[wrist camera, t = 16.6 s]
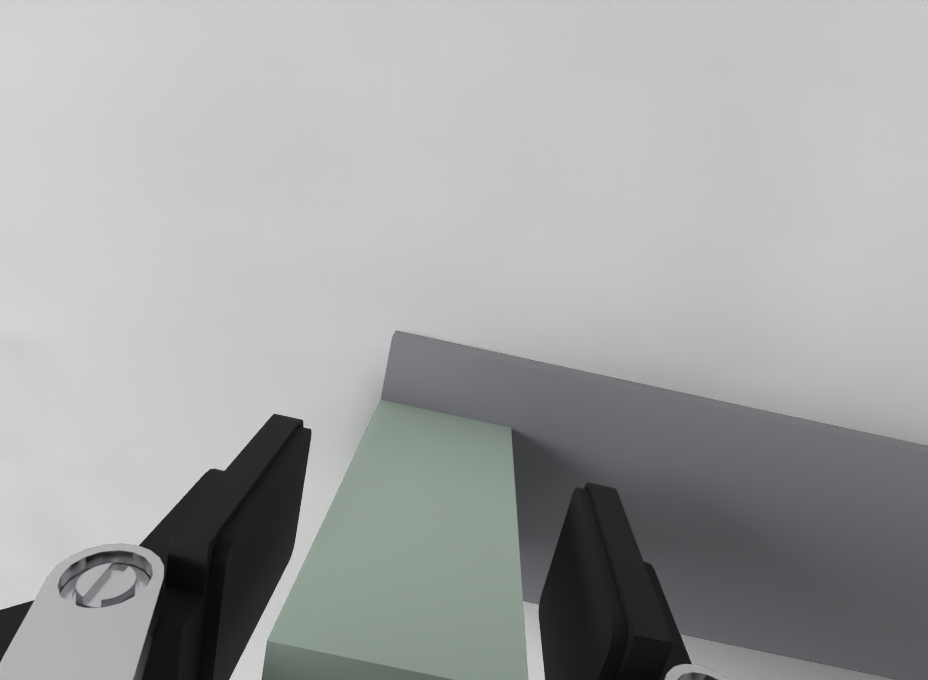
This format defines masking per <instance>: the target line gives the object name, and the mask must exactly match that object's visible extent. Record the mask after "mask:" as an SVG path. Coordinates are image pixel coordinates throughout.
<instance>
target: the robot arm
mask: <svg viewBox="0 0 928 680" xmlns="http://www.w3.org/2000/svg"><path fill="white" fill-rule="evenodd" d="M310 441H311V429H307V428H303V420H300V419H296V418H291V417H287V416H282V415H277V414H274V415H272V416H271V418H270V419H269V420H268V421H267V422H266V423H265V425H264V426H263V427H262V428H261V429H260V430H259V432H258V433H257V434H256V435H255V436H254V437H253V439H252V440H251V441H250V442H249V443H248V444H247V446H246V447H245V448H244V449H243V450H242V451H241V453H240V454H239V455H238V456H237V457H236V458H235V459H234V461H233V462H232V463H231V464H230V465H229V466H228V468H227V469H226V470H225V471H222V470H218V469H210V470H209V471H207V472H206V473H205V474H204V475H203V476H202V477H201V479H200V480H199V481H198V482H197V483H196V484H195V485H194V486H193V487H192V488H191V489H190V491H189V492H188V493H187V494H186V495H185V496H184V497H183V498H182V499H181V500H180V502H179V503H178V504H177V505H176V506H175V507H174V508H173V509H172V510H171V511H170V512H169V514H168V515H167V516H166V517H165V518H164V519H163V520H162V521H161V522H160V523H159V524H158V526H157V527H156V528H155V529H154V530H153V531H152V532H151V533H150V534H149V535H148V536H147V538H146V539H145V540H144V541H143V542H142V543H141V544H140V545H139V546H138V545H130V544H109V545H101V546H97V547H93V548H89V549H86V550H83V551H81V552H79V553H77V554H74V555H72V556H70V557H68V558H67V559H66V560H64V561H63V562H61V563H60V564H59V565H57V566H56V567H55V568H54V570H53V571H52V572H51V573H50V574H49V576H48V577H47V579H46V580H45V582H44V584H43V586H42V588H41V589H40V591H39V593H38V595H37V597H36V598H35V600H33V601H30V602H26V603H23V604H20V605H16V606H13V607H9V608H6V609H2V610H0V680H229V679H230V677H231V675H232V673H233V671H234V669H235V667H236V665H237V663H238V661H239V659H240V657H241V655H242V653H243V651H244V649H245V647H246V645H247V643H248V641H249V639H250V637H251V635H252V633H253V631H254V629H255V627H256V625H257V623H258V622H259V620H260V618H261V616H262V614H263V612H264V610H265V608H266V606H267V604H268V602H269V600H270V598H271V596H272V594H273V592H274V590H275V588H276V586H277V584H278V582H279V580H280V578H281V576H282V574H283V572H284V570H285V568H286V566H287V564H288V562H289V560H290V558H291V555H292V552H293V548H294V544H295V538H296V531H297V525H298V518H299V512H300V505H301V499H302V492H303V486H304V479H305V473H306V467H307V460H308V454H309V447H310ZM539 622H540V632H541V642H542V652H543V662H544V672H545V680H730V679H729V678H727V677H725V676H723V675H722V674H720V673H718V672H716V671H714V670H712V669H709V668H706V667H703V666H700V665H693V664H691V661H690V659H689V656H688V653H687V651H686V648H685V646H684V643H683V641H682V638H681V636H680V633H679V631H678V628H677V625H676V623H675V620H674V618H673V615H672V613H671V610H670V608H669V605H668V603H667V600H666V597H665V595H664V592H663V590H662V587H661V585H660V582H659V580H658V577H657V575H656V572H655V570H654V568H653V566H652V565H651V564H650V563H648V562H644V561H643V559H642V556H641V553H640V551H639V548H638V545H637V543H636V540H635V537H634V535H633V532H632V529H631V527H630V524H629V521H628V519H627V516H626V513H625V510H624V508H623V505H622V502H621V500H620V497H619V494H618V492H617V490H616V488H612V487H607V486H603V485H598V484H594V483H589V482H588V483H586V484H585V486H584V488H578V487H576V488H575V490H574V492H573V494H572V497H571V501H570V504H569V507H568V510H567V513H566V517H565V520H564V523H563V526H562V530H561V533H560V536H559V539H558V542H557V546H556V549H555V552H554V555H553V558H552V562H551V565H550V568H549V571H548V574H547V578H546V581H545V584H544V587H543V591H542V594H541V598H540V603H539Z"/></svg>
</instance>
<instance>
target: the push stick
mask: <svg viewBox="0 0 928 680" xmlns="http://www.w3.org/2000/svg"><path fill="white" fill-rule="evenodd" d="M588 482H589V483H594V484H598V485H603V486H607V487H612V488H616V490H617V492H618V494H619V497H620V500H621V502H622V505H623V508H624V510H625V513H626V516H627V519H628V521H629V524H630V527H631V529H632V532H633V535H634V537H635V540H636V543H637V545H638V548H639V551H640V553H641V556H642V559H643V561H644V562H648V563H650V564H651V565H652V566H653V568H654V570H655V572H656V575H657V577H658V580H659V582H660V585H661V587H662V590H663V592H664V595H665V597H666V600H667V603H668V605H669V608H670V610H671V613H672V615H673V618H674V620H675V623H676V625H677V628H678V631H679V633H680V634H683V635H687V636H692V637H697V638H702V639H706V640H711V641H716V642H721V643H725V644H730V645H735V646H740V647H744V648H749V649H754V650H759V651H763V652H768V653H773V654H778V655H783V656H787V657H792V658H797V659H802V660H806V661H811V662H816V663H821V664H825V665H830V666H835V667H840V668H844V669H849V670H854V671H859V672H863V673H868V674H873V675H878V676H882V677H887V678H892V679H897V680H928V446H925V445H921V444H916V443H911V442H907V441H902V440H897V439H893V438H888V437H884V436H879V435H874V434H870V433H865V432H861V431H856V430H851V429H847V428H842V427H838V426H833V425H828V424H824V423H819V422H815V421H810V420H805V419H801V418H796V417H792V416H787V415H782V414H778V413H773V412H768V411H764V410H759V409H755V408H750V407H745V406H741V405H736V404H732V403H727V402H722V401H718V400H713V399H709V398H704V397H699V396H695V395H690V394H686V393H681V392H676V391H672V390H667V389H662V388H658V387H653V386H649V385H644V384H639V383H635V382H630V381H626V380H621V379H616V378H612V377H607V376H603V375H598V374H593V373H589V372H584V371H580V370H575V369H570V368H566V367H561V366H557V365H552V364H547V363H543V362H538V361H533V360H529V359H524V358H520V357H515V356H510V355H506V354H501V353H497V352H492V351H487V350H483V349H478V348H474V347H469V346H464V345H460V344H455V343H451V342H446V341H441V340H437V339H432V338H428V337H423V336H418V335H414V334H409V333H404V332H400V331H395V333H394V335H393V337H392V341H391V347H390V352H389V357H388V363H387V368H386V374H385V379H384V385H383V390H382V395H381V400H380V402H379V404H378V406H377V409H376V411H375V413H374V415H373V417H372V419H371V421H370V423H369V426H368V428H367V430H366V432H365V434H364V436H363V438H362V440H361V443H360V445H359V447H358V449H357V451H356V453H355V455H354V457H353V460H352V462H351V464H350V466H349V468H348V470H347V472H346V474H345V477H344V479H343V481H342V483H341V485H340V487H339V489H338V491H337V494H336V496H335V498H334V500H333V502H332V504H331V506H330V508H329V511H328V513H327V515H326V517H325V519H324V521H323V523H322V525H321V528H320V530H319V532H318V534H317V536H316V538H315V540H314V542H313V545H312V547H311V549H310V551H309V553H308V555H307V557H306V559H305V562H304V564H303V566H302V568H301V570H300V572H299V574H298V576H297V579H296V581H295V583H294V585H293V587H292V589H291V591H290V593H289V596H288V598H287V600H286V602H285V604H284V606H283V608H282V610H281V613H280V615H279V617H278V619H277V621H276V623H275V625H274V627H273V630H272V632H271V634H270V636H269V638H268V640H267V646H266V653H265V660H264V667H263V674H262V680H528V669H527V654H526V640H525V625H524V610H523V601H526V602H531V603H535V604H539V603H540V598H541V594H542V591H543V587H544V584H545V581H546V578H547V574H548V571H549V568H550V565H551V562H552V558H553V555H554V552H555V549H556V546H557V542H558V539H559V536H560V533H561V530H562V526H563V523H564V520H565V517H566V513H567V510H568V507H569V504H570V501H571V497H572V494H573V492H574V490H575V488H576V487H578V488H584V486H585V484H586V483H588Z"/></svg>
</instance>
